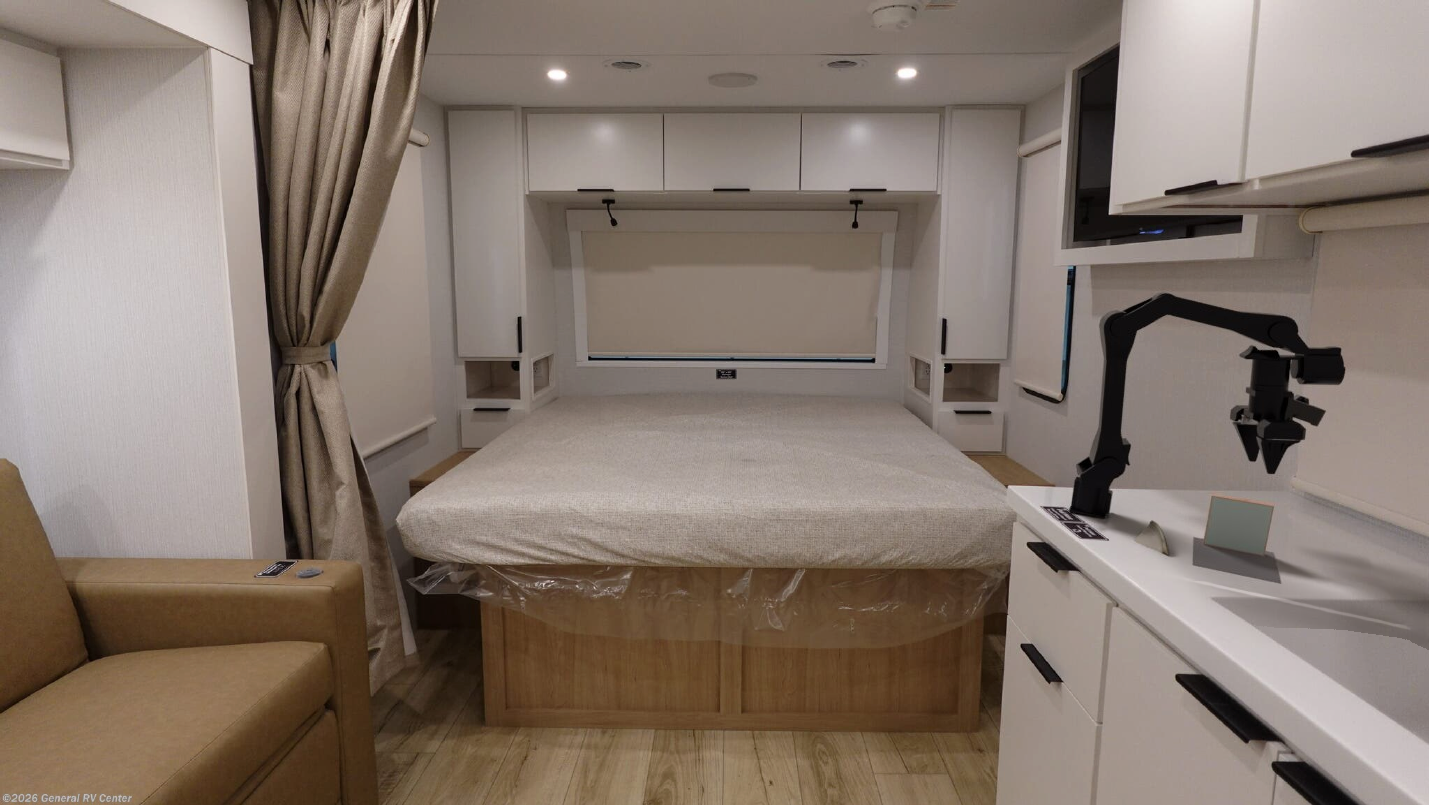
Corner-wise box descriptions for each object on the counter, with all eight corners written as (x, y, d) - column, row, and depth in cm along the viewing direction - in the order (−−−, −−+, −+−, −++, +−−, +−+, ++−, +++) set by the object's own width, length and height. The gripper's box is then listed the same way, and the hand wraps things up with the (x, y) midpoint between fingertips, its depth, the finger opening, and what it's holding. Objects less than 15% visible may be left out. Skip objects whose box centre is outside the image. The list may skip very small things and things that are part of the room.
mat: (1192, 567, 129) (1192, 564, 129) (1193, 539, 143) (1193, 537, 143) (1280, 586, 123) (1281, 583, 123) (1273, 555, 137) (1273, 552, 137)
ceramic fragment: (1171, 561, 133) (1174, 539, 132) (1137, 556, 134) (1140, 534, 134) (1154, 535, 146) (1157, 515, 145) (1123, 531, 147) (1126, 511, 147)
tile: (1203, 544, 139) (1211, 495, 137) (1203, 541, 141) (1211, 493, 139) (1264, 556, 135) (1274, 506, 133) (1263, 553, 136) (1273, 503, 134)
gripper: (1346, 393, 131) (1336, 483, 134) (1300, 377, 149) (1291, 457, 152) (1269, 391, 134) (1260, 480, 137) (1232, 376, 152) (1225, 455, 155)
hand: (1261, 467), depth 145 cm, fingers open, 9 cm apart
